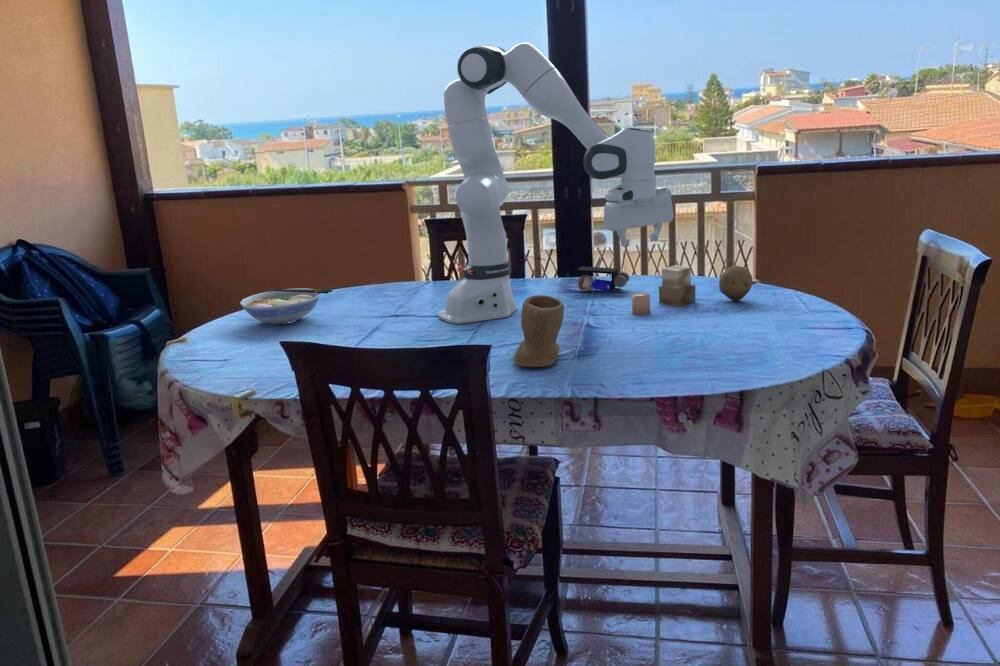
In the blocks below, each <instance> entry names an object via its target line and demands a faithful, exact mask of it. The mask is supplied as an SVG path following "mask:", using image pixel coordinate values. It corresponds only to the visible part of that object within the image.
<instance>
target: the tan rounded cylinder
mask: <svg viewBox="0 0 1000 666" xmlns="http://www.w3.org/2000/svg"><path fill="white" fill-rule="evenodd" d="M631 313H632V315H636V316H646V315H650V314H651V294H650V293H649V292H635V293H632V294H631Z"/></svg>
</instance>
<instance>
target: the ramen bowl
mask: <svg viewBox="0 0 1000 666" xmlns="http://www.w3.org/2000/svg"><path fill="white" fill-rule="evenodd" d="M261 291H265V292H261V293H257V294H253V295H250V296H248V297H247V296H246V297H245V298H243V299H242V300H241V301H240V302H239V304H240V305H241V307H242V308H243V309H244V310H245V312H246V313H247V314H249V315H250V316H251V317H252V318H254V319H255V320H258V321H260V322H264V323H270V324H272V325H274V324H283V325H285V324H284V323H288V322H292V321H295V320H297V319H298V320H299V319H301V318H303V317H305V316H307V315H309V314H310V313H311V312H312V311H313V310H314V308H315V307H316V305H317V302H319V301H318V300H319V298H320V294H329V293H333V289H315V288H305V287H304V288H286V289H284V288H283V289H278V288H277V289H274V288H273V289H267V288H266V289H261ZM298 320H297V321H298ZM295 322H296V321H295Z"/></svg>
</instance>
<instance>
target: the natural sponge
mask: <svg viewBox="0 0 1000 666" xmlns="http://www.w3.org/2000/svg"><path fill="white" fill-rule="evenodd" d="M753 281H754V279H753V276H752V273H750V271H749V270H748V269H747V268H746V267H743V266H742V265H732V266H729V267H728V268H727V269H725V270H724V272H723V273H721V276H720V278H719V282H718V286H719V287H718V288H719V291H720V292H721V294H722V295H724V296H725V297H726V298H727V299H729V300H731V301H733V302H738V301H741V300H742V299H744V298H745V296H747V294H748V293H749V292H750V291H751V288H752V287H753Z"/></svg>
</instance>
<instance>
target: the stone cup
mask: <svg viewBox="0 0 1000 666" xmlns="http://www.w3.org/2000/svg"><path fill="white" fill-rule="evenodd" d="M564 313H565V305H564V303H563V302H562V301H561V300H560V299H559V298H556V296H555V297H554V296H550V295H544V294H535V295H531V296H528V297H527V298H526V299H524V301H523V303H522V306H521V313H520V315H521V317H520V318H521V320H520V325H521V329H522V333H523V337H524V340H522V341H521V342H520V344H519V345H518V347H517V350H516V351H515V353H514V356H513V359H512V361H513V363H514V364H515V365H517V366H519V367H527V368H539V367H541V368H542V367H543V368H544V367H549V366H551V365H553V364H554V363H555V362H556V361H557V359H558V356H559V352H560V348H561V346H560V344H558V343H557V338H558V336H559V333H560V330H561V328H562V324H563V321H564Z"/></svg>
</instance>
